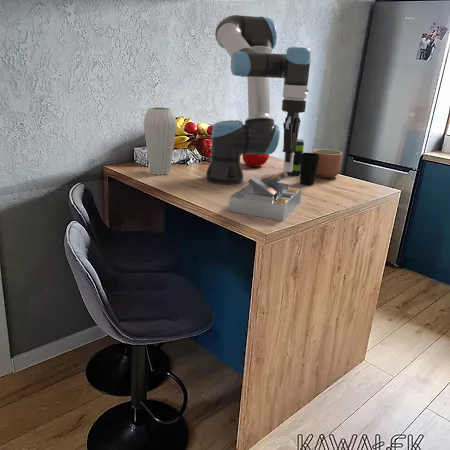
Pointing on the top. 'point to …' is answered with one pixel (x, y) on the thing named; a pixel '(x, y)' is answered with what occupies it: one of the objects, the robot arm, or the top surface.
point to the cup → (308, 168)
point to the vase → (160, 138)
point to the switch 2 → (262, 187)
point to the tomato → (255, 159)
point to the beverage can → (297, 158)
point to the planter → (328, 163)
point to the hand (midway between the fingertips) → (287, 171)
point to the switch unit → (266, 201)
